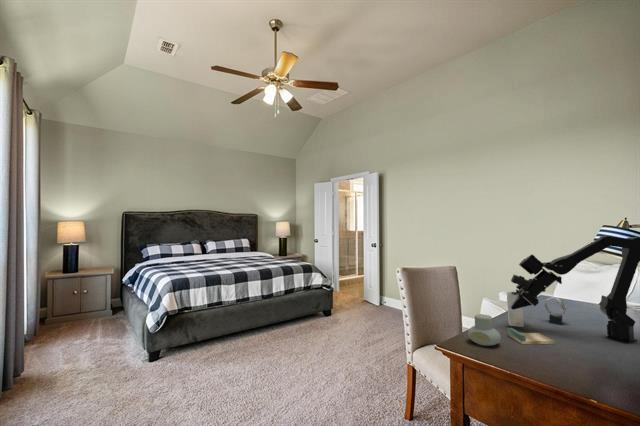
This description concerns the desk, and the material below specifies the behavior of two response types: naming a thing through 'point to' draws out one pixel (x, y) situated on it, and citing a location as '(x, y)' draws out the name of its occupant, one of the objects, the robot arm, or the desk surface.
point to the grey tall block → (516, 314)
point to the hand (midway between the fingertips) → (511, 307)
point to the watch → (556, 317)
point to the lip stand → (529, 337)
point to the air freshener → (484, 331)
